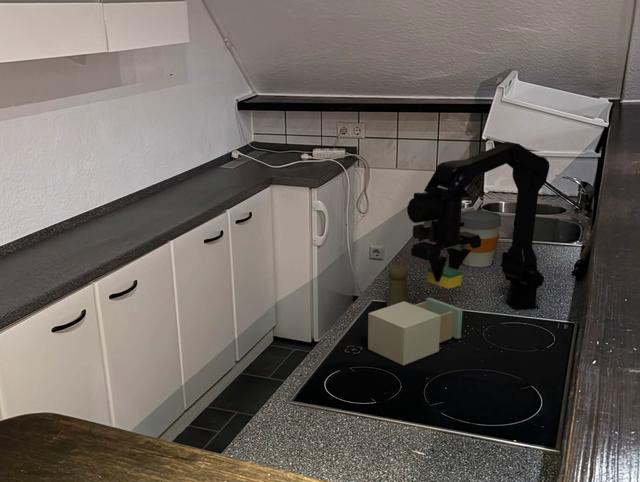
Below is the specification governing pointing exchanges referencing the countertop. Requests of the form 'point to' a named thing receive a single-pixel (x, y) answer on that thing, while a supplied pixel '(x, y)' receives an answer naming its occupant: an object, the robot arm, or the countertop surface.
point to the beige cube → (403, 332)
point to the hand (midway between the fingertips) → (444, 279)
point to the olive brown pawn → (397, 285)
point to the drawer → (445, 318)
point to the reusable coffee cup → (481, 236)
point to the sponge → (446, 277)
